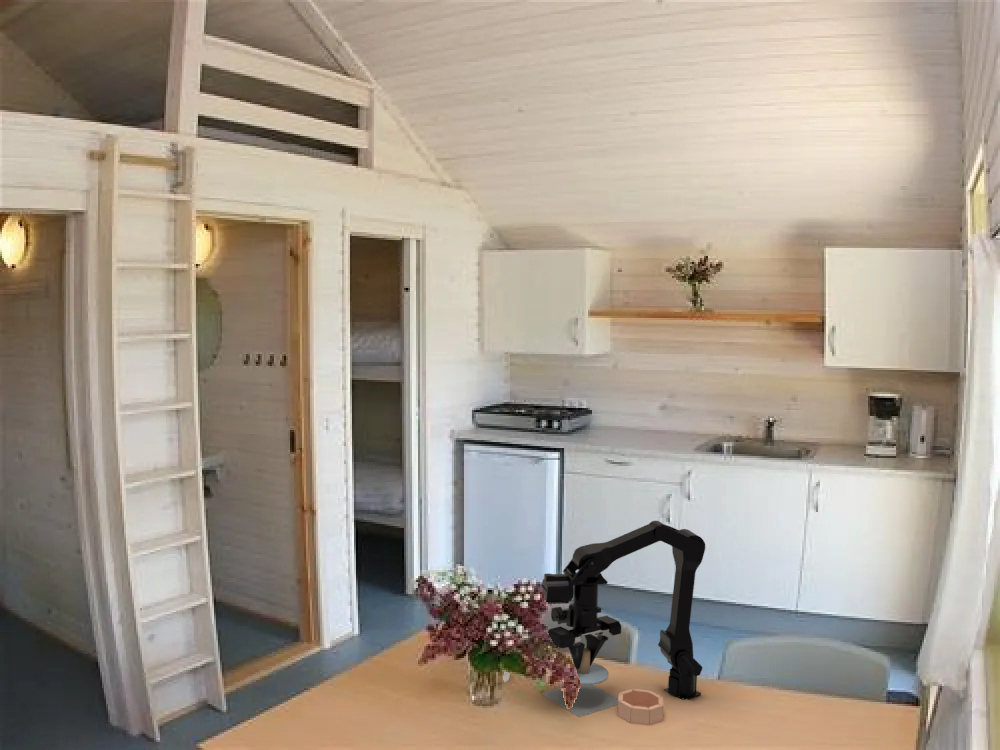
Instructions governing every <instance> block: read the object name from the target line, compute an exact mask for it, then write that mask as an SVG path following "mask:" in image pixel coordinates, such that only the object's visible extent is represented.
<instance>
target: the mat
mask: <svg viewBox="0 0 1000 750" xmlns="http://www.w3.org/2000/svg"><path fill="white" fill-rule="evenodd" d="M559 688H560V687H559ZM559 688H555V689H552V690H549V691H548V690H547V691H545V692H542V693H540V694H541V695H542V696H544V697H545V698H547V699H549V700H550V701H552V702H553V703H555V704H557V705H558V706H560V707H562V708H563V709H565V710H566V711H567V712H569V713H571V714H572V715H575V716H577V717H578V718H582V717H584V716H587V715H590V714H591V715H592V714H593V713H597V712H600V711H602V710H603V711H604V710H606V709H609V708H612V707H617V706H618V697H617V696H615V695H613V694H611V693H609V692H608V691H605V690H604V689H602V688H600V687H598V686H597V685H596V684H592V685H582V686H581V688H580V689H579V692H578V696H577V699H576V700H575V703H574V704H573V707H572V708H570V709H567V708H566V705H565V701H564V698H563V691H561V689H559Z"/></svg>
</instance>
